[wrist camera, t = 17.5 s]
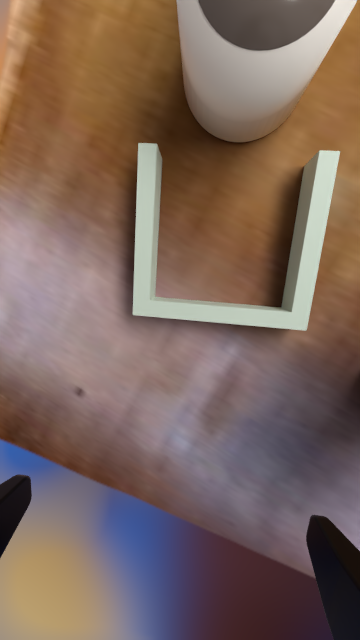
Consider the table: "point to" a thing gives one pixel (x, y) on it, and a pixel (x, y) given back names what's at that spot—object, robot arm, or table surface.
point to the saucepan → (253, 59)
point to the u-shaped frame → (288, 316)
